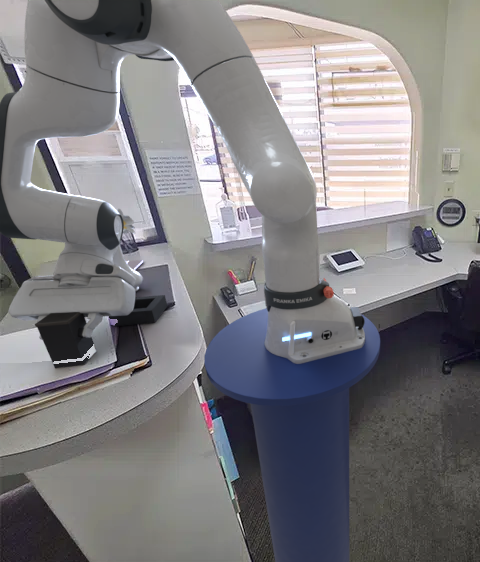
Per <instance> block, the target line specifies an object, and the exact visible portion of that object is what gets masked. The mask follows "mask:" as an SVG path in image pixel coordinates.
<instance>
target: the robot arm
mask: <svg viewBox="0 0 480 562" xmlns="http://www.w3.org/2000/svg"><path fill="white" fill-rule="evenodd" d="M24 20H25V21H24V34H23V35H24V37H23V38H24V39H23V41H24V58H25V67H26V72H25V78H24V82H23V84H22V86H21V88H20V89H19V90H17V91H13V92H7V93H5V94H4V95H3V97H2V98H1V100H0V234H1V235H3V236H4V237H5V238H8V239H19V240H20V239H21V240H39V241H40V240H41V241H48V242H55V243H64V248H63V249H62V251H61V252H60V253H59V255H58V258H57V261H56V264H55V267H54V271H53V273H52V275H34V276H32V277H31V278H29V279H27V280H25V281H23V282H22V283H21V286H20V287H19V289H18V290H17V292H16V293H15V295H14V297H13V300H12V301H11V303H10V305H9V308H8V314H9V316H10V317H12V318H15V319H17V320H21V321H36V323H37V322H39V321H40V320H41V319H43V318H44V317H46V316H47V315H49V314H50V313H67V312H80V313H81V314H82V313H83V314H84V317H85V318H86V319H87V320H88V321H86V322H87V324H86V325H85V326H84V328H79V329H78V337H80V338H90V337H91V336H92V337H93V333H94V330H95V329H96V328H97V327H98V326H99V325H100V324H101V323H102V321H103V317H108V316H122V315H128V314H130V313H131V312H132V311H133V308H134V303H135V297H136V292H135V289H134V287H133V285H134V284H135V281H136V279H135V278H134V277H133V276H132V275H131V274H130V273H128V272H127V271H126V270H124V269H122V268H121V267H119V266H116V265H113V256H114V254H115V253H116V251H117V248H118V245H119V244H120V245H121V243H122V238H123V234H124V233H123V230H124V222H123V218H122V216H121V215H120V214H119V212H118V211H117V210H118V209H116V208H115V206H113V205H112V204H111V203H110V202H108V201H106V200H102V199H98V198H93V197H88V196H83V195H77V194H75V195H74V194H69V193H64V192H58V191H53V190H50V189H49V190H47V189H43V188H40V187H38V186H37V185H35V184H34V183H32V181H31V179H32V173H33V172H32V171H33V163H34V159H35V158H34V156H35V150H36V145H37V143H38V142H39V141H40V140H45V139H54V138H55V139H56V138H81V137H82V138H83V137H89V136H94V135H95V136H96V135H98V134H101V133H104V132H107V130H109V129H111V128H112V127H113V126H114V125H116V123H117V121H118V117H119V112H120V103H121V101H120V100H121V92H120V91H121V85H120V82H121V81H120V71H121V65H122V63H123V61H124V59H125V58H128V57H129V56H132V55H135V56H136V58H138V59H140V60H150V61H151V60H152V61H160V62H174V61H175V62H176V64H177V65H178V66H179V68H180V70H181V71H182V73H183V75H184V77H185V78H186V80H187V82H188V83H189V85H190V87H191V88H192V90H193V92H194V94H195V95H196V97H197V99H198V100H199V102H200V104H201V106H202V107H203V108H204V110H205V112H206V113H207V115H208V117H209V119H210V120H211V122H212V124H213V126H215V129H216V131H217V132H218V134H219V136H220V138H221V140H222V141H223V143H224V145H225V148H226V149H227V152H228V154H229V156H230V158H231V160H232V163H233V165H234V167H235V169H236V171H237V173H238V176H239V177H240V179H241V181H242V183H243V185H244V187H245V190H246V191H247V193H248V195H249V197H250V199H251V201H252V203H253V206H254V207H255V208H256V210H257V211H258V212H259V214H261V252H262V260H263V269H264V270H263V271H264V279H265V282H264V285H263V296H264V304H265V308H267V311H268V324H267V333H266V338H265V347H266V349H267V350H268V351H269V352H271V353H272V354H274V355H277V356H281V357H284V358H287V359H289V360H290V361H291V362H293V363H295V364H301V363H305V362H309V361H313V360H317V359H321V358H325V357H329V356H333V355H337V354H341V353H344V352H348V351H352V350H356V349H360V348H362V347H363V345H364V343H365V333H364V330H363V326H364V323H365V320H364V318H363V316H364V315H363V314H362V312H361V310H360V307H358V306H349V305H348V304H347V303H345V302H344V301H343V300H341V299H339V298H338V297H335V292H334V290H333V287H331V286H330V283H329V282H328V281H327V279H326V278H325V277H323V278H321V277H320V253H319V252H320V251H319V235H318V233H319V232H318V218H317V217H318V216H317V196H318V194H317V193H318V189H317V183H316V180H315V177H314V175H313V172H312V170H311V168H310V167H309V165H308V163H307V161H306V159H305V157H304V155H303V153H302V152H301V150H300V147H299V145H298V143H297V142H296V139H295V137H294V135H293V133H292V131H291V129H290V127H289V126H288V123H287V121H286V119H285V117H284V115H283V113H282V111H281V109H280V107H279V105H278V103H277V100H276V98H275V97H274V95H273V93H272V91H271V89H270V86H269V85H268V83H267V81H266V78H265V77H264V75H263V73H262V71H261V69H260V67H259V65H258V63H257V61H256V59H255V57H254V55H253V53H252V51H251V49H250V47H249V46H248V44H247V42H246V40H245V38H244V37H243V35H242V33H241V32H240V30H239V29H238V26H237V25H236V23H235V22H234V21H233V19H232V17H231V16H230V15H229V13H228V11H227V10H226V8H225V7H224V6H223V4H222V3H221V2H220V0H27V2H26V10H25V19H24ZM361 314H362V315H363V316H362V315H361ZM39 340H40V341H41V340H42V337H41V335H40V334H39ZM42 341H43V340H42Z"/></svg>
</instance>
